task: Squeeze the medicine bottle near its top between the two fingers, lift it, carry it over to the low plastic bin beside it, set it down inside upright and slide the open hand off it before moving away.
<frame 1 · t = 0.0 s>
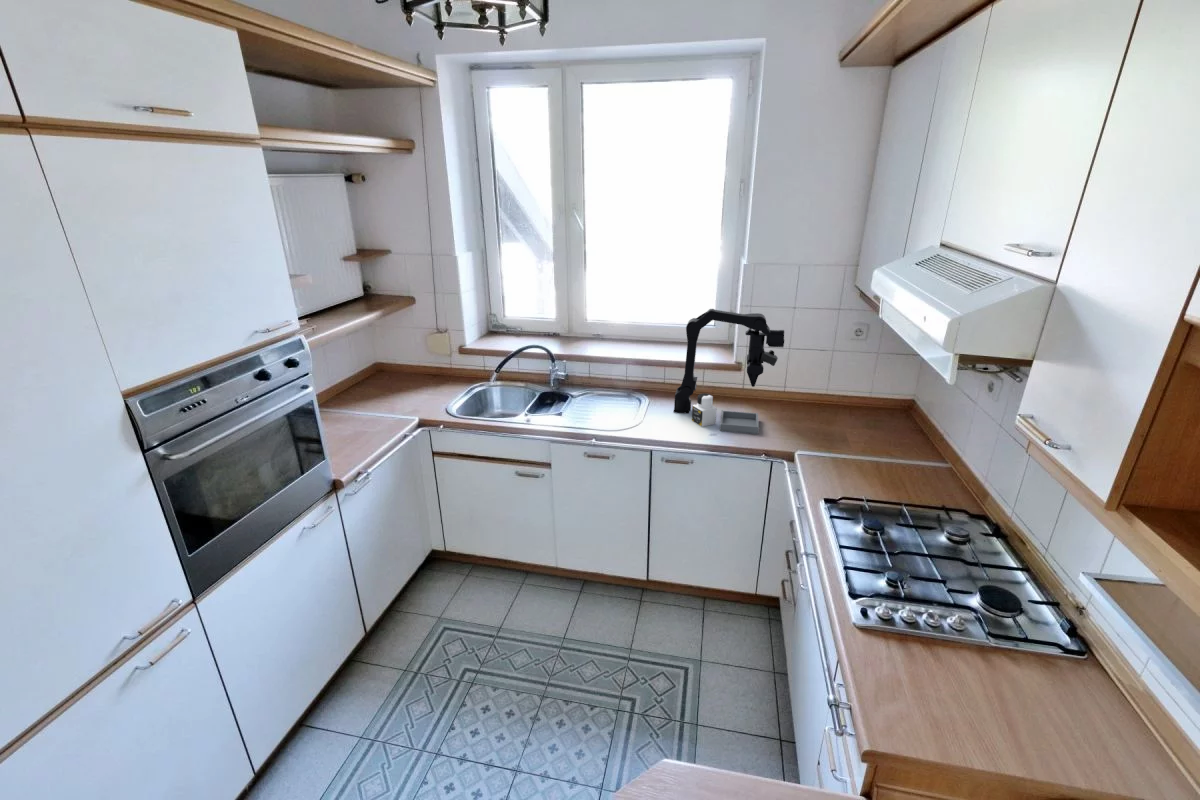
hand: (752, 382, 230), 15 cm above the worktop, tool pointing down, fingers open, 9 cm apart
medicine bottle: (703, 422, 229), on the worktop
bin: (738, 425, 226), on the worktop
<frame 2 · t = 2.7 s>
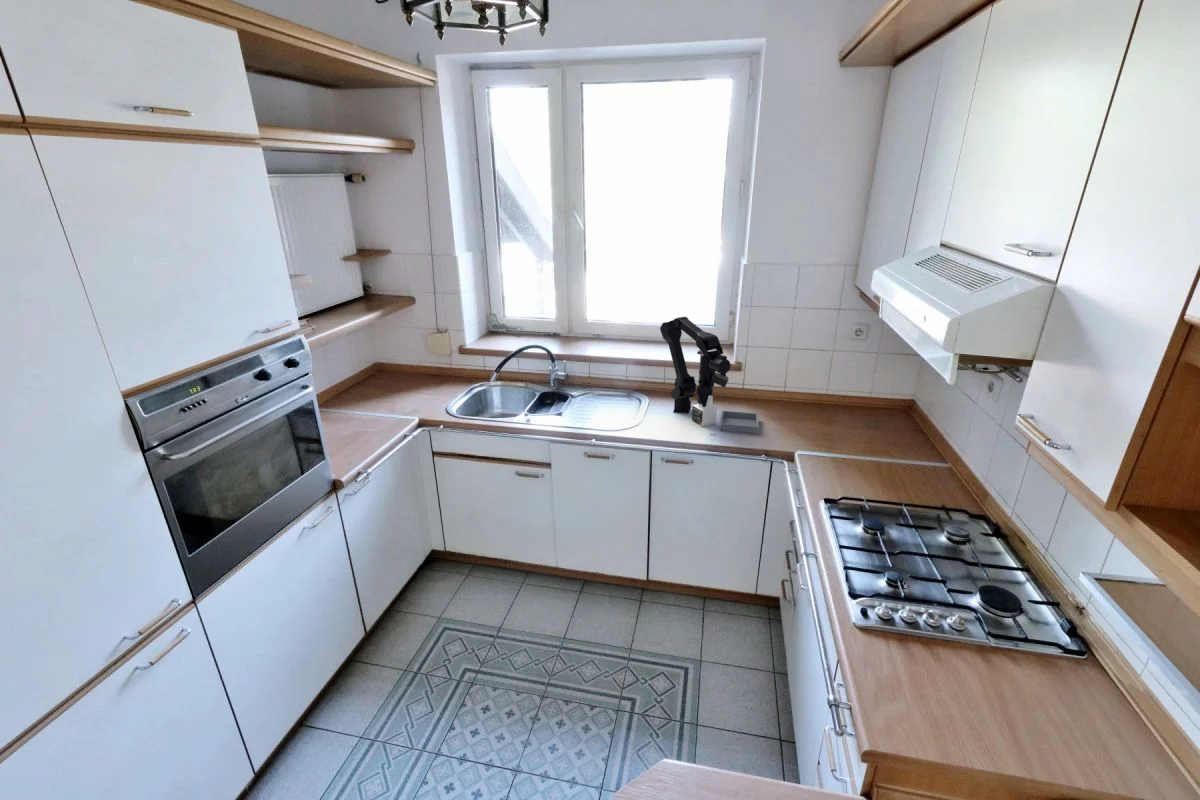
hand: (704, 404, 226), 8 cm above the worktop, tool pointing down, fingers closed on medicine bottle, 6 cm apart
medicine bottle: (703, 422, 229), on the worktop, touching gripper
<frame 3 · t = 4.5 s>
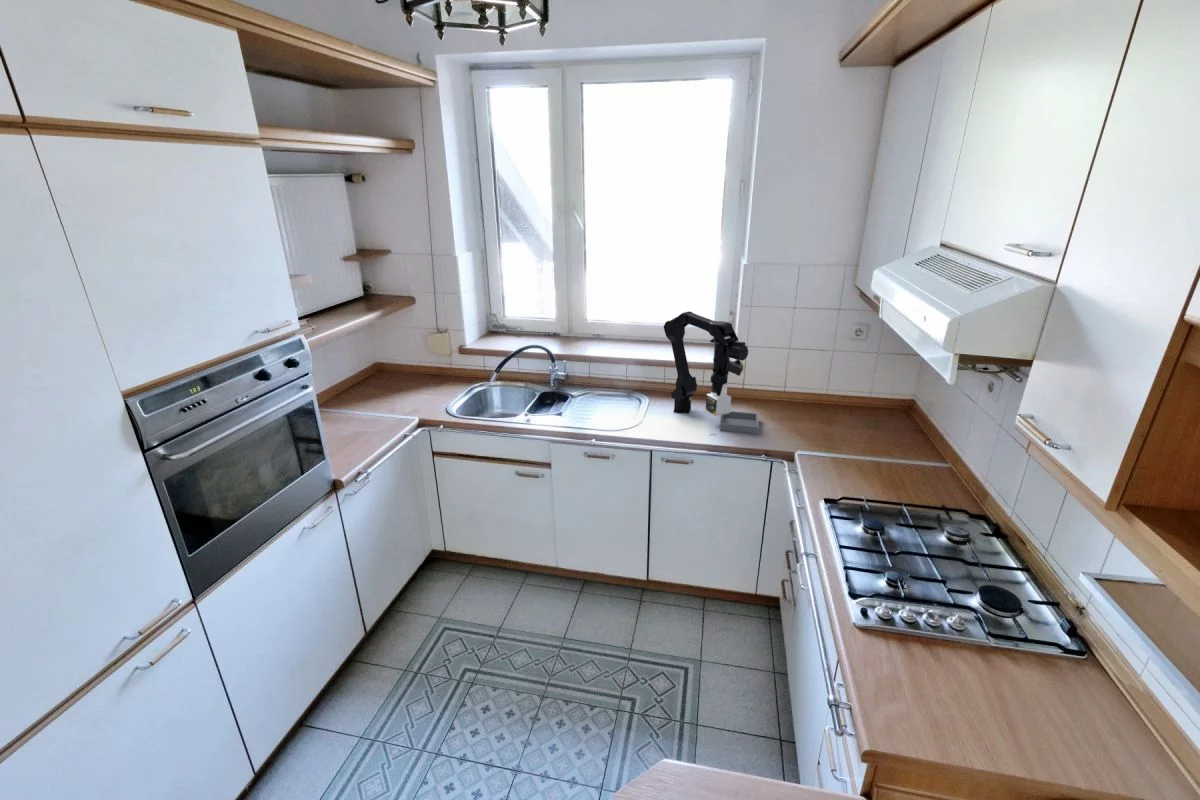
hand: (719, 393, 223), 13 cm above the worktop, tool pointing down, fingers closed on medicine bottle, 6 cm apart
medicine bottle: (717, 412, 226), point 5 cm above the worktop, touching gripper
when the fingers open (10 cm above the worktop, at t = 6.7 s): medicine bottle drops 1 cm, resting on bin.
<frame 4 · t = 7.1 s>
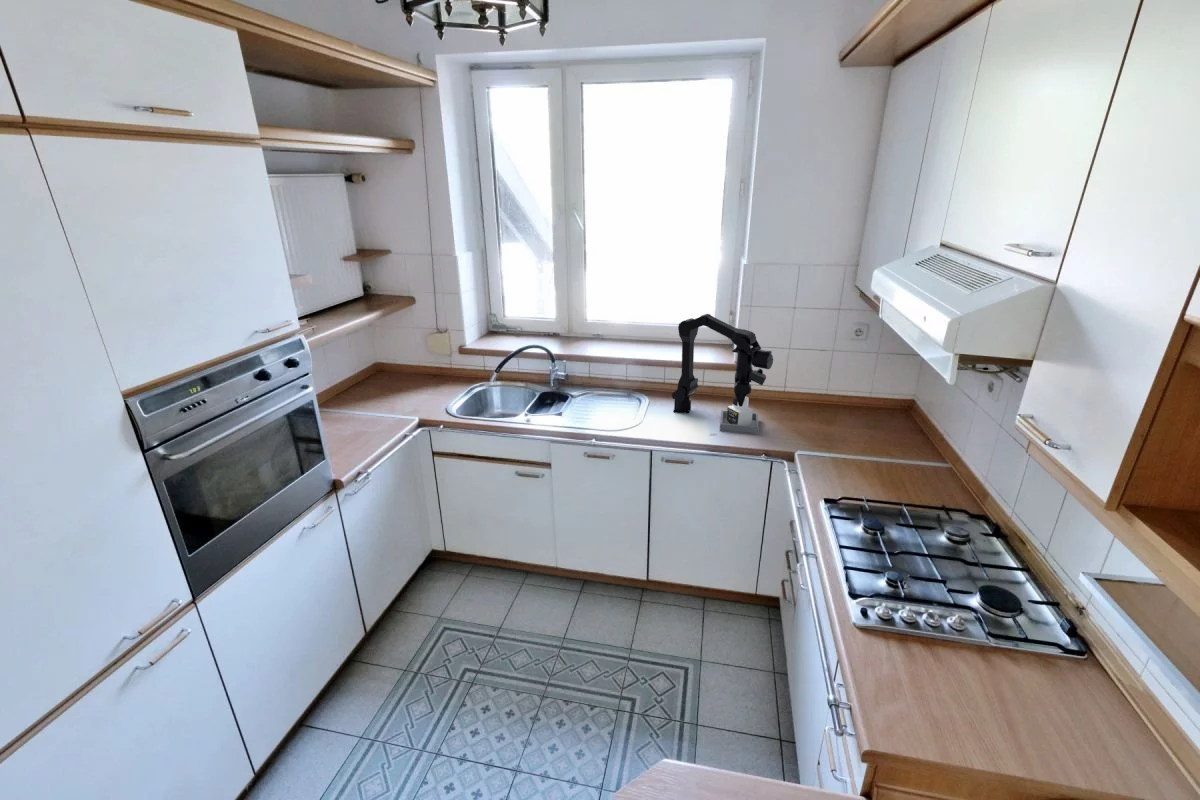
hand: (740, 402, 222), 10 cm above the worktop, tool pointing down, fingers open, 9 cm apart
medicine bottle: (738, 424, 226), resting on bin
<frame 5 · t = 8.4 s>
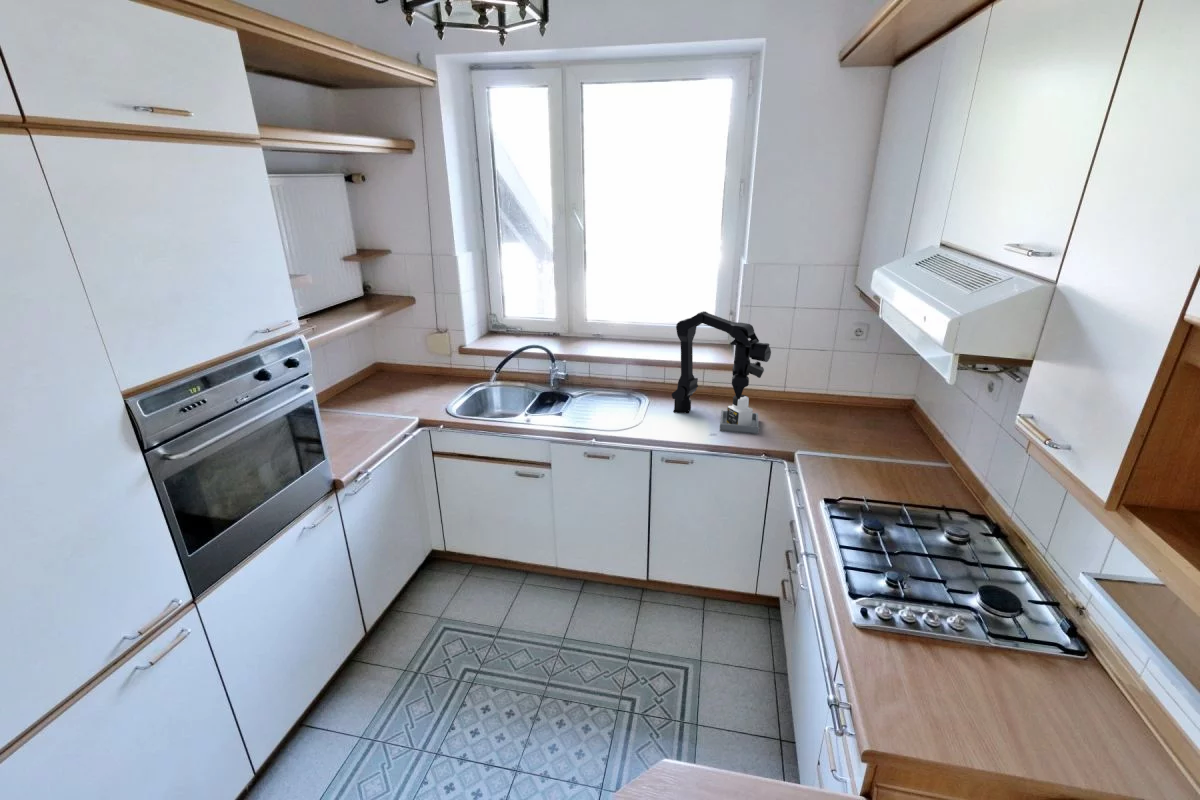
hand: (738, 395, 222), 13 cm above the worktop, tool pointing down, fingers open, 9 cm apart
nothing on the worktop moved.
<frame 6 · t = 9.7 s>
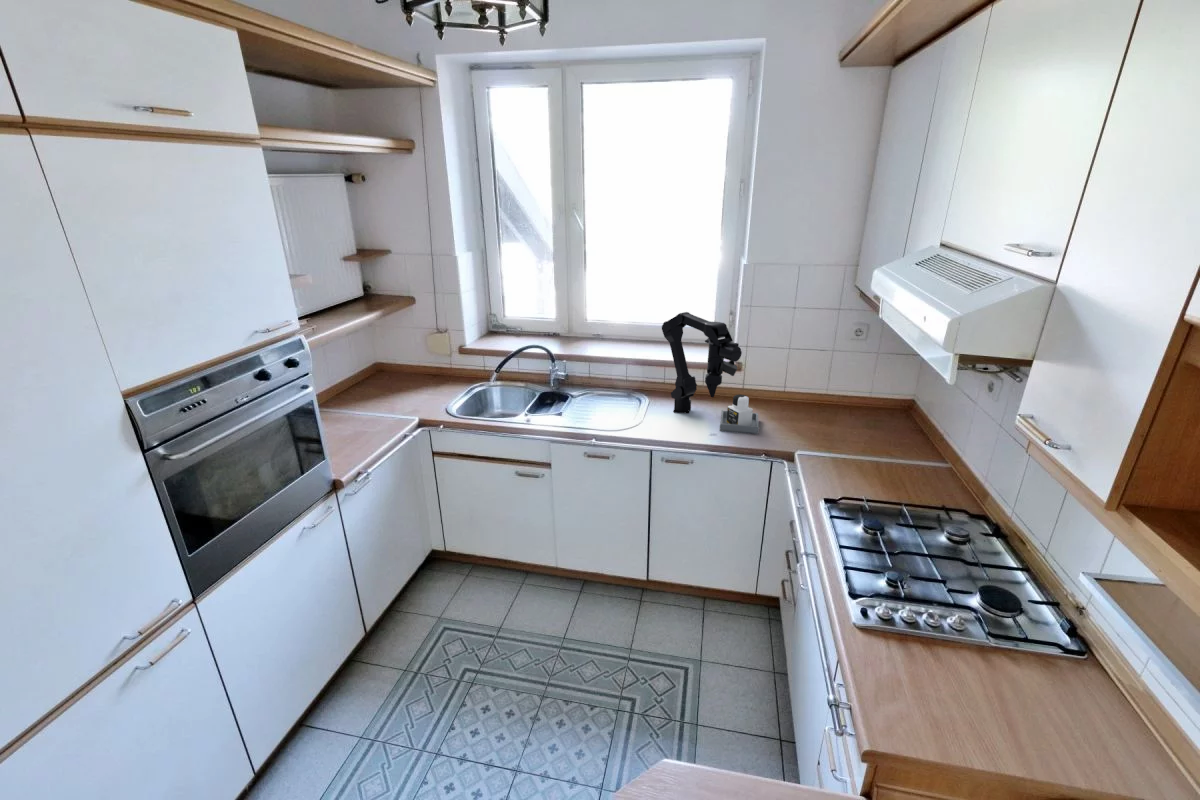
hand: (712, 393, 224), 13 cm above the worktop, tool pointing down, fingers open, 9 cm apart
nothing on the worktop moved.
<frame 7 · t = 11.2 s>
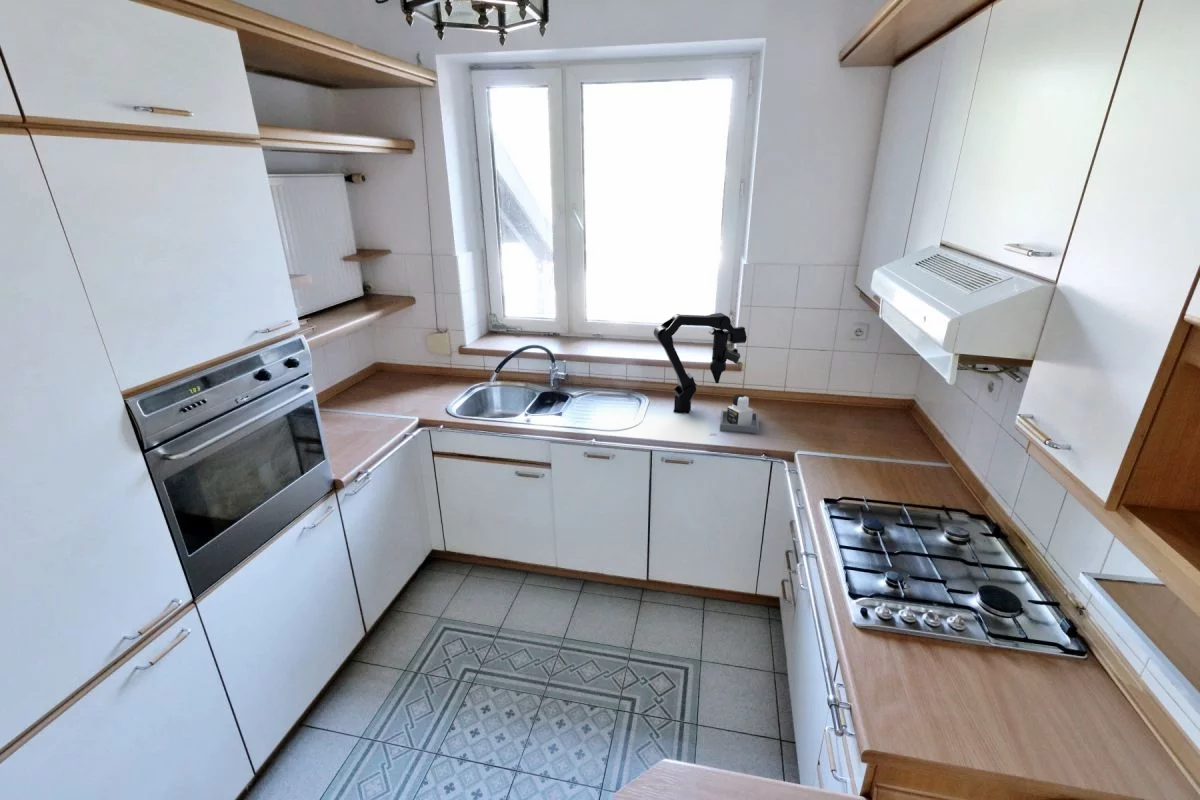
hand: (717, 379, 239), 13 cm above the worktop, tool pointing down, fingers open, 9 cm apart
nothing on the worktop moved.
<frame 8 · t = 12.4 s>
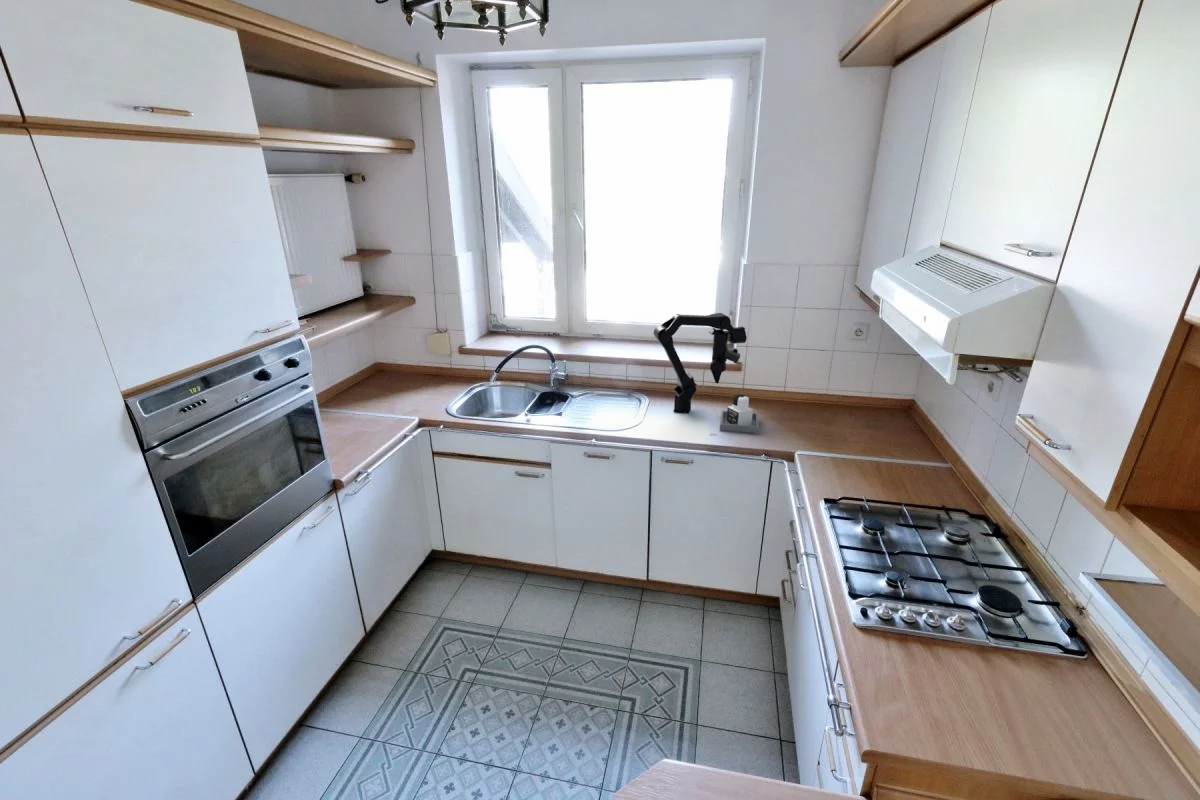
hand: (717, 379, 239), 13 cm above the worktop, tool pointing down, fingers open, 9 cm apart
nothing on the worktop moved.
at the end: medicine bottle inside the target area on the bin (0.1 cm from its centre), point 0.4 cm above the bin's base; medicine bottle tilted 0°; the gripper is holding nothing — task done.
